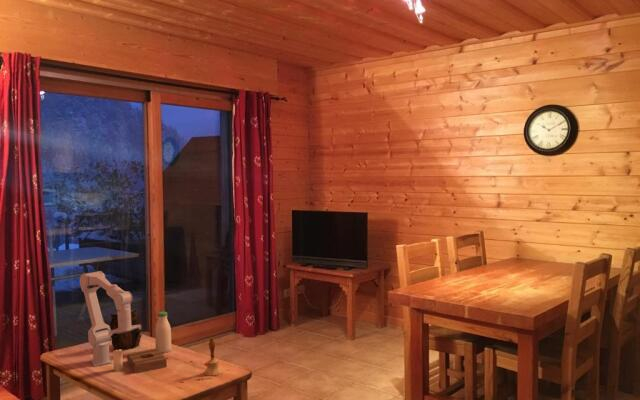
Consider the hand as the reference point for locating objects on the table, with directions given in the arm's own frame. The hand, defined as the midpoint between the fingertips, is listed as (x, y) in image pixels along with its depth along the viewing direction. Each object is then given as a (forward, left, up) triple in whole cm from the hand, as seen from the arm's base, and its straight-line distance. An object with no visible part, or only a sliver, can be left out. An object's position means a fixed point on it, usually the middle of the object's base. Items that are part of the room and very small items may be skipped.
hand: (126, 347), depth 242 cm
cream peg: (-3, -3, -11) cm, 12 cm away
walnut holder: (-3, +10, -11) cm, 15 cm away
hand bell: (+25, +33, -11) cm, 43 cm away
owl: (-36, +7, -11) cm, 38 cm away
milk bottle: (-18, +22, -11) cm, 30 cm away
